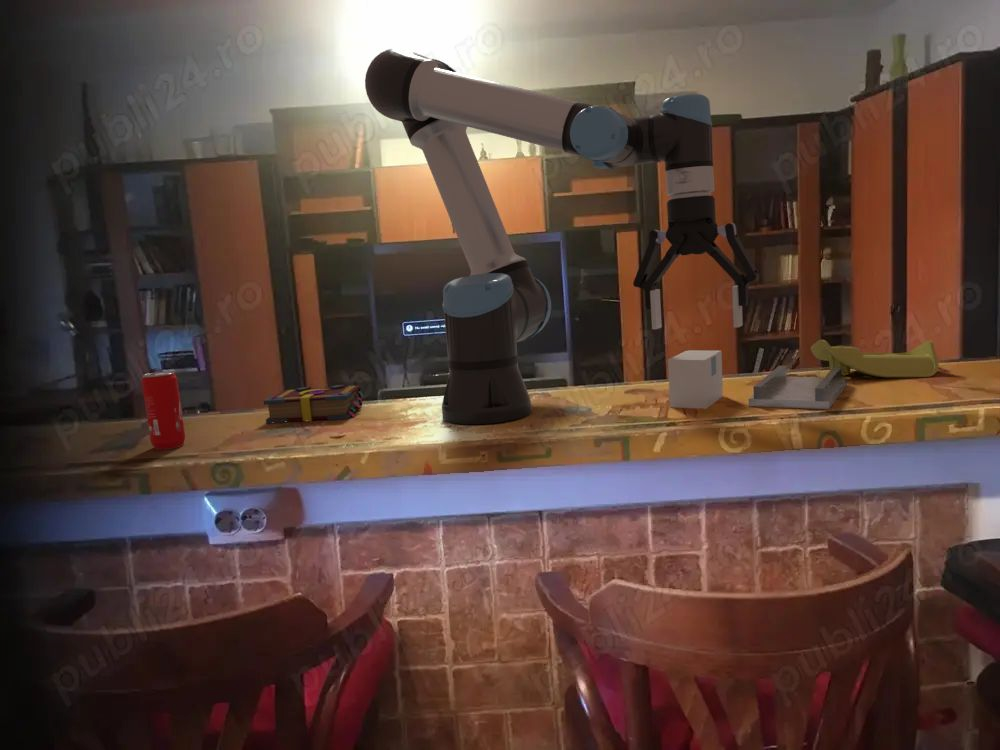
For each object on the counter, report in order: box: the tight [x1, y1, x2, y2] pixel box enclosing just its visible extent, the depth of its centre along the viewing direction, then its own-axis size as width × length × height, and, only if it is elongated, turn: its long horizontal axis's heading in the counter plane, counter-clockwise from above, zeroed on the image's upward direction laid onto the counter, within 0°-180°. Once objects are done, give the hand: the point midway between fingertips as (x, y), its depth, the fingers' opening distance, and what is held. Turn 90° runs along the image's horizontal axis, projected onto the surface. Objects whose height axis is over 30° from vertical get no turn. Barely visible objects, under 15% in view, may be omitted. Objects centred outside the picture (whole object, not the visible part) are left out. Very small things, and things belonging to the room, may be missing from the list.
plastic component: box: [810, 339, 940, 379], centre depth 144 cm, size 20×7×10 cm
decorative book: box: [263, 384, 364, 424], centre depth 144 cm, size 11×16×5 cm
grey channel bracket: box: [748, 365, 848, 410], centre depth 131 cm, size 12×20×3 cm, turn 149°
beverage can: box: [141, 370, 186, 451], centre depth 126 cm, size 5×5×12 cm
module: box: [667, 349, 724, 410], centre depth 131 cm, size 6×10×8 cm, turn 149°
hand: (696, 327), depth 130 cm, fingers open, 13 cm apart
